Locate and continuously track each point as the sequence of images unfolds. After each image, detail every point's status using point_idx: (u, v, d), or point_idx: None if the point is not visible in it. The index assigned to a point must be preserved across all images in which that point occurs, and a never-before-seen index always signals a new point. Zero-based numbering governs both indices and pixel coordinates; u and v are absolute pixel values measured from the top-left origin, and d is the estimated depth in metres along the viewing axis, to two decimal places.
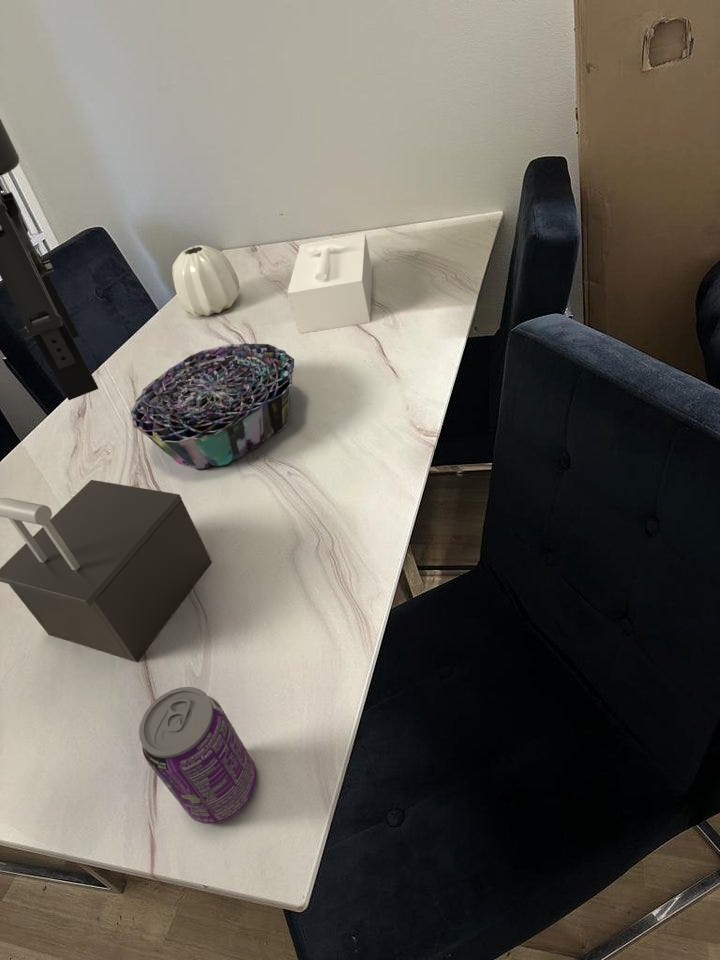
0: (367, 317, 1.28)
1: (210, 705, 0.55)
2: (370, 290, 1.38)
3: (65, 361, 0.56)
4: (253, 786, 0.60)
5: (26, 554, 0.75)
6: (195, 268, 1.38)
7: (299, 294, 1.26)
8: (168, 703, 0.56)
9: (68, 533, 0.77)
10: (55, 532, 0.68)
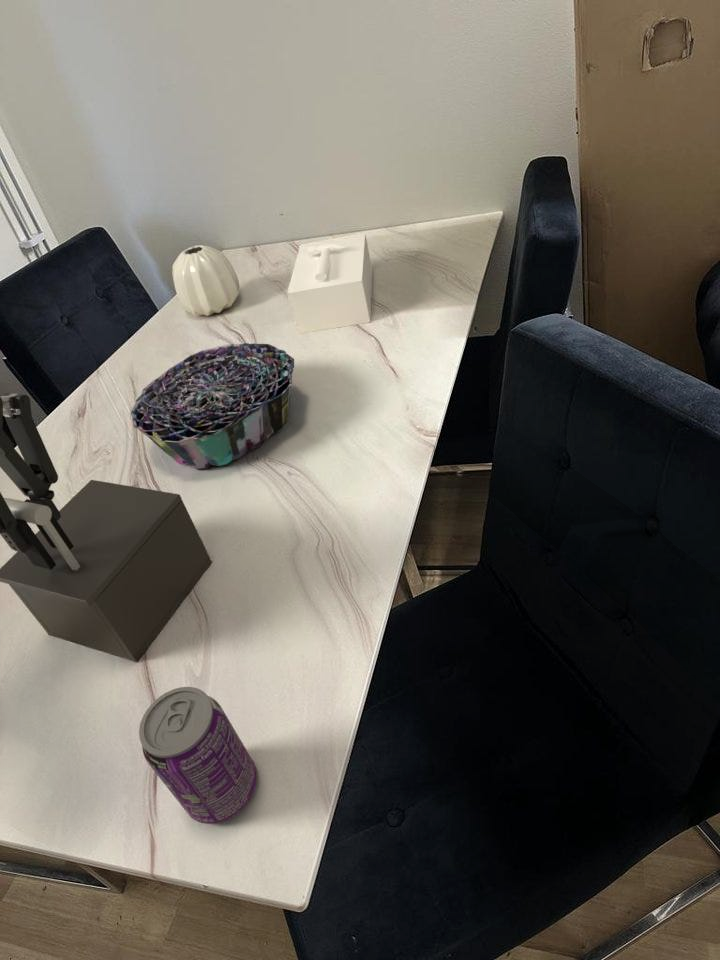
0: (367, 317, 1.28)
1: (210, 705, 0.55)
2: (370, 290, 1.38)
3: (16, 550, 0.67)
4: (253, 786, 0.60)
5: None
6: (195, 268, 1.38)
7: (299, 294, 1.26)
8: (168, 703, 0.56)
9: (68, 534, 0.77)
10: (55, 532, 0.68)
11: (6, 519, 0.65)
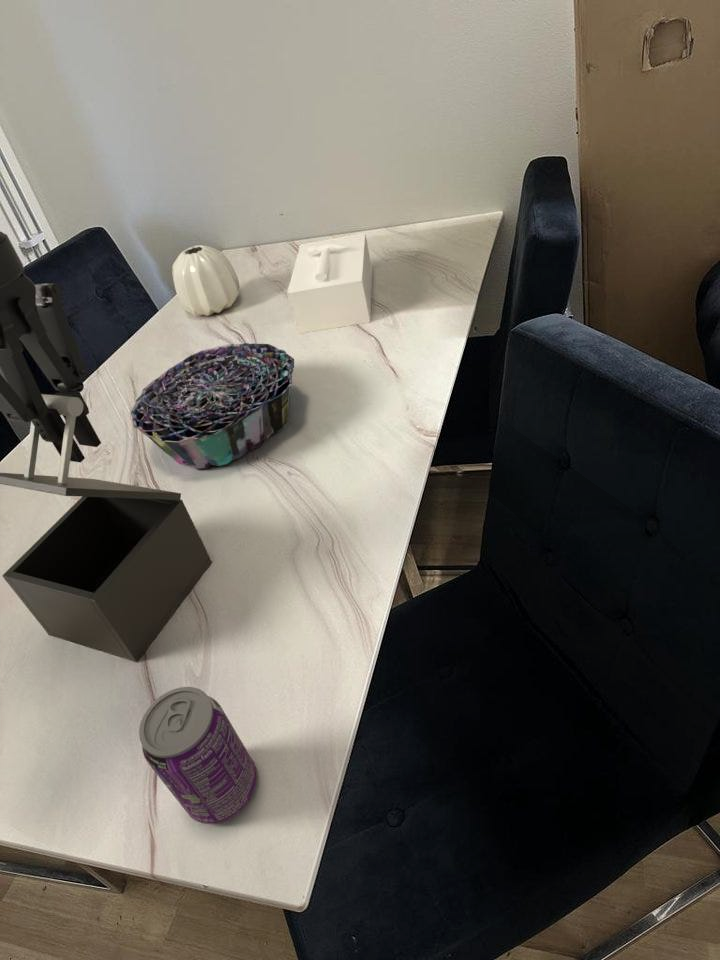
0: (367, 317, 1.28)
1: (210, 705, 0.55)
2: (370, 290, 1.38)
3: (47, 439, 0.69)
4: (253, 786, 0.60)
5: (11, 474, 0.72)
6: (195, 268, 1.38)
7: (299, 294, 1.26)
8: (168, 703, 0.56)
9: None
10: (72, 431, 0.69)
11: (38, 405, 0.66)
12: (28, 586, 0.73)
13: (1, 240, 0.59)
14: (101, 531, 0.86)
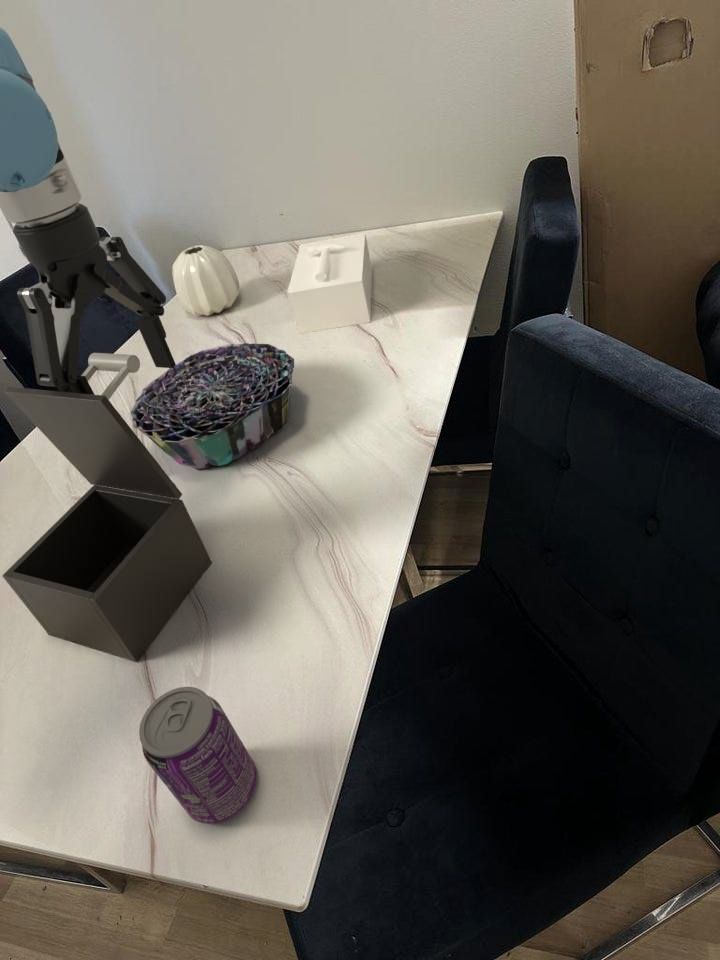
0: (367, 317, 1.28)
1: (210, 705, 0.55)
2: (370, 290, 1.38)
3: None
4: (253, 786, 0.60)
5: None
6: (195, 268, 1.38)
7: (299, 294, 1.26)
8: (168, 703, 0.56)
9: None
10: (121, 380, 0.74)
11: (71, 369, 0.69)
12: (28, 586, 0.73)
13: (83, 210, 0.66)
14: (101, 531, 0.86)
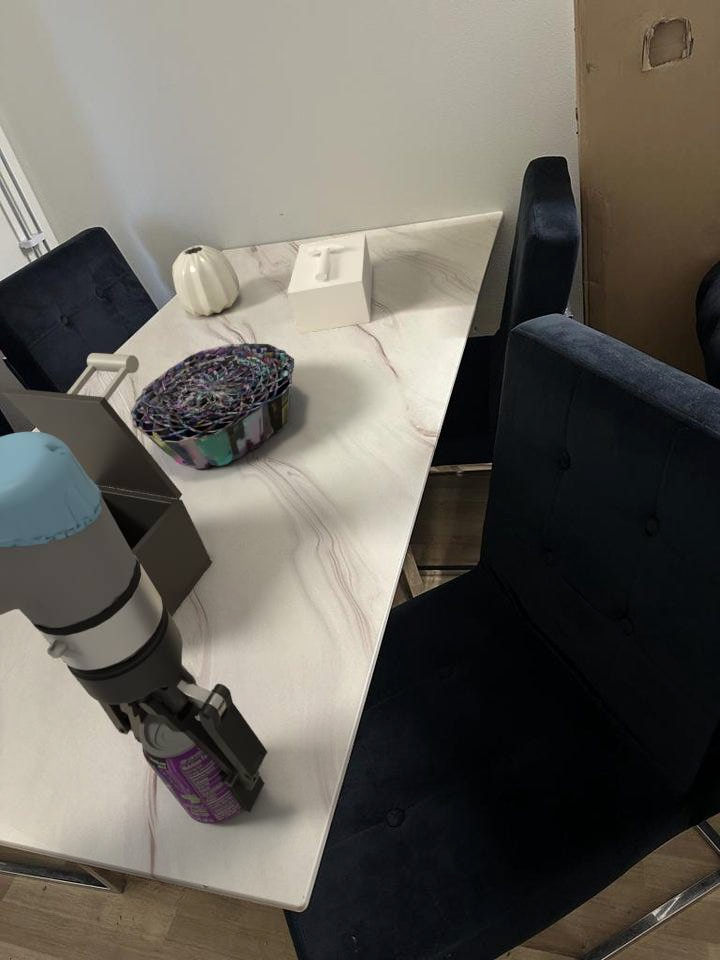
0: (367, 317, 1.28)
1: None
2: (370, 290, 1.38)
3: None
4: None
5: None
6: (195, 268, 1.38)
7: (299, 294, 1.26)
8: None
9: None
10: (120, 381, 0.74)
11: (137, 735, 0.57)
12: None
13: (103, 676, 0.44)
14: None
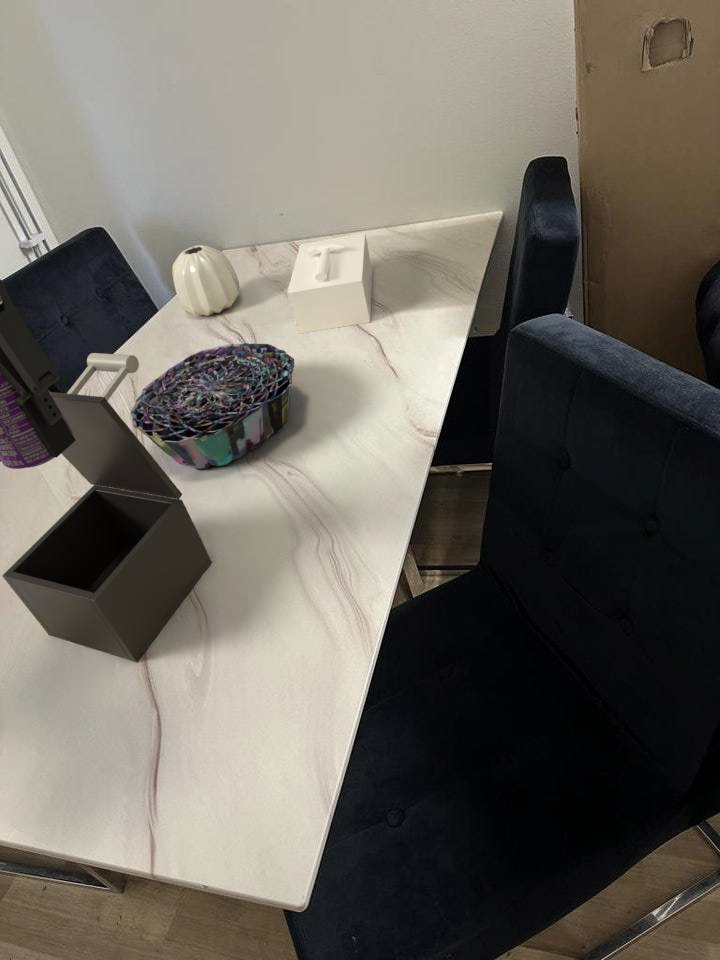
0: (367, 317, 1.28)
1: None
2: (370, 290, 1.38)
3: None
4: None
5: None
6: (195, 268, 1.38)
7: (299, 294, 1.26)
8: None
9: None
10: (120, 381, 0.74)
11: None
12: (28, 586, 0.73)
13: None
14: (101, 531, 0.86)
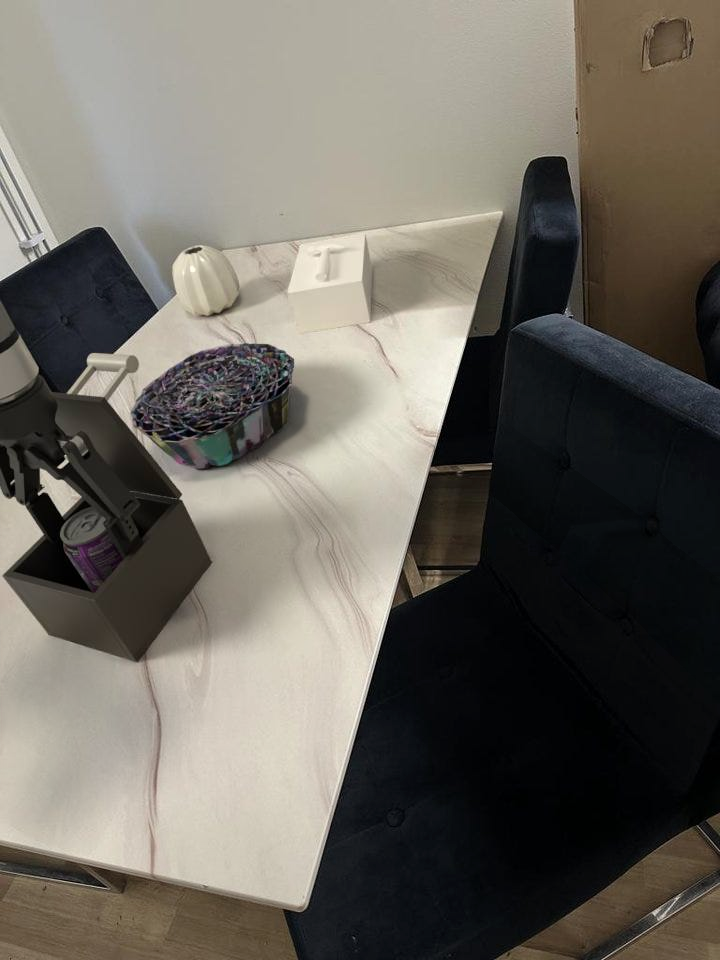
0: (367, 317, 1.28)
1: None
2: (370, 290, 1.38)
3: None
4: None
5: None
6: (195, 268, 1.38)
7: (300, 294, 1.26)
8: (83, 516, 0.77)
9: None
10: (120, 381, 0.74)
11: (18, 496, 0.74)
12: (28, 586, 0.73)
13: None
14: None
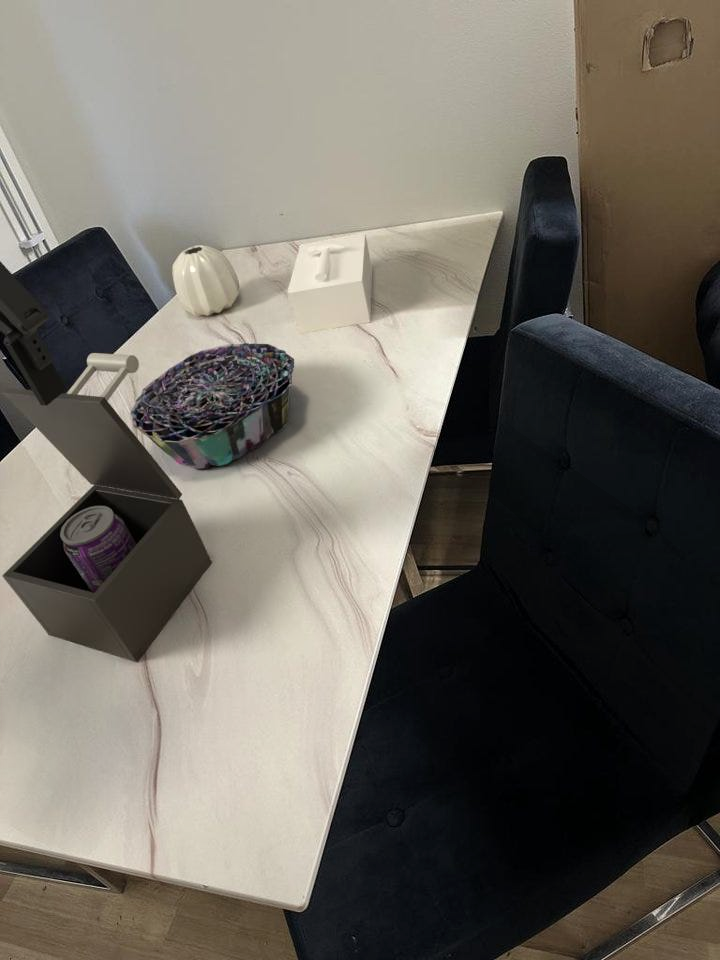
0: (367, 317, 1.28)
1: (112, 514, 0.76)
2: (370, 290, 1.38)
3: None
4: None
5: None
6: (195, 268, 1.38)
7: (300, 294, 1.26)
8: (83, 516, 0.77)
9: None
10: (120, 381, 0.74)
11: None
12: (28, 586, 0.73)
13: None
14: None
